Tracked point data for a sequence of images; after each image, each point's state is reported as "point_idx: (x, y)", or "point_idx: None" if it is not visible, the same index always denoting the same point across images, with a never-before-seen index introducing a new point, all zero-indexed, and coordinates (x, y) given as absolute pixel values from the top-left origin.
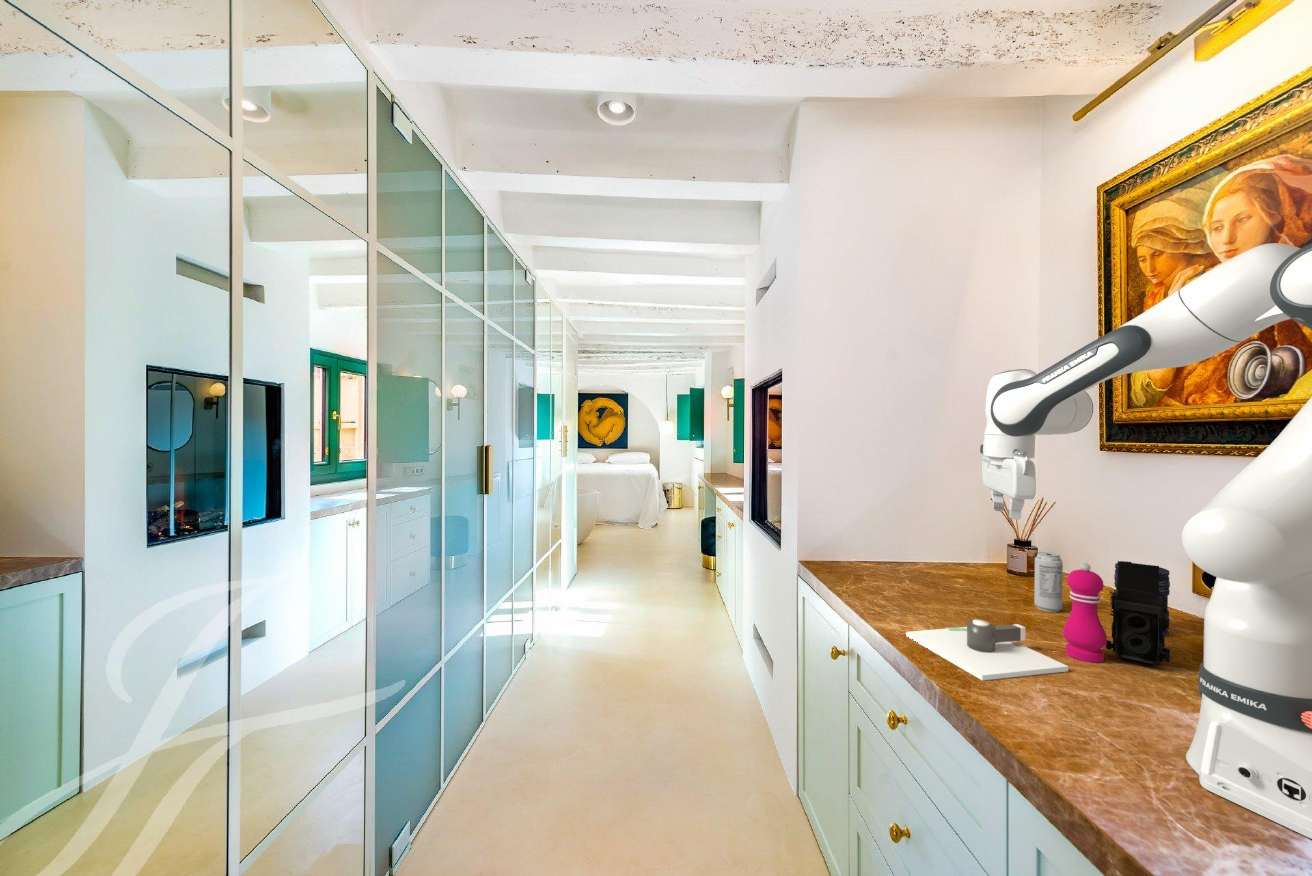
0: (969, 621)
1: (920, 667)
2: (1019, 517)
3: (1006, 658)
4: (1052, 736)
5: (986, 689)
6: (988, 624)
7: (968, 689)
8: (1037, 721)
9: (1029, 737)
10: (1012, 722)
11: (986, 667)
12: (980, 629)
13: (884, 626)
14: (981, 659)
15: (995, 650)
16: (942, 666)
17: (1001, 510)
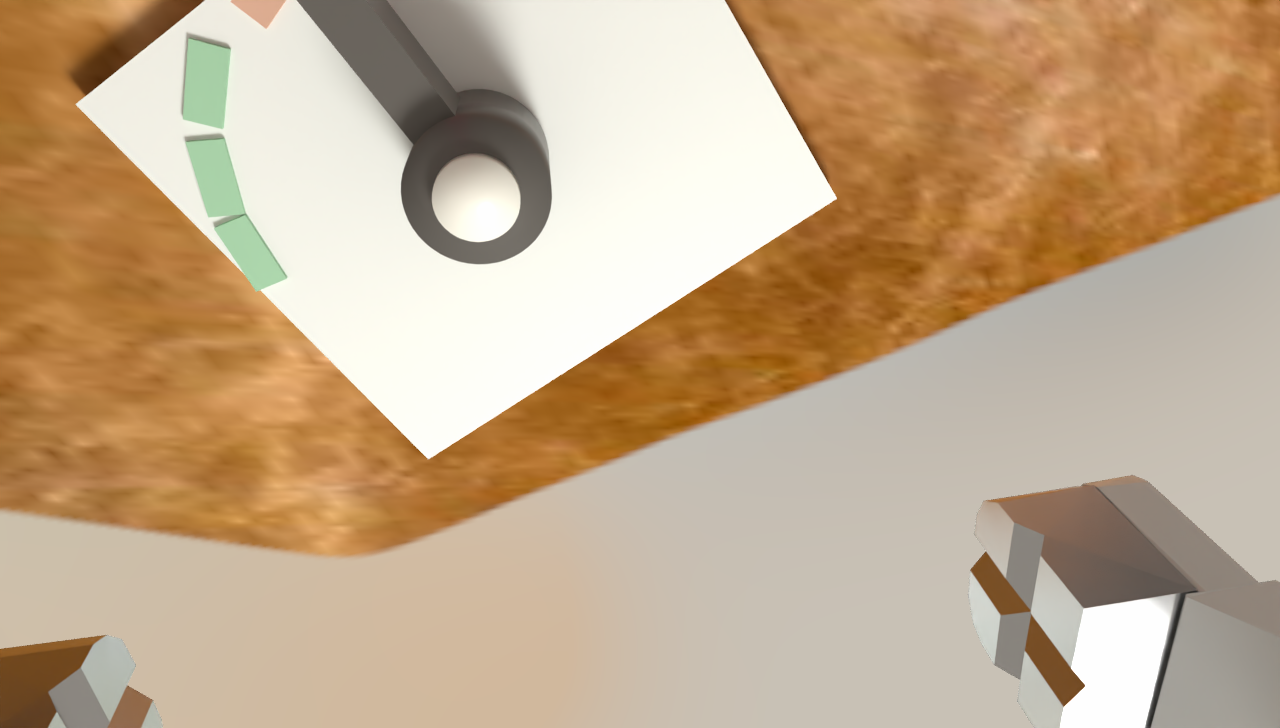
0: (444, 249)
1: (772, 399)
2: (1147, 501)
3: (585, 52)
4: (1240, 28)
5: (910, 187)
6: (498, 164)
7: (927, 252)
8: (1141, 53)
9: (1251, 110)
10: (1158, 144)
11: (742, 168)
12: (550, 205)
13: (343, 527)
14: (650, 175)
15: (489, 86)
16: (732, 324)
17: (121, 671)
